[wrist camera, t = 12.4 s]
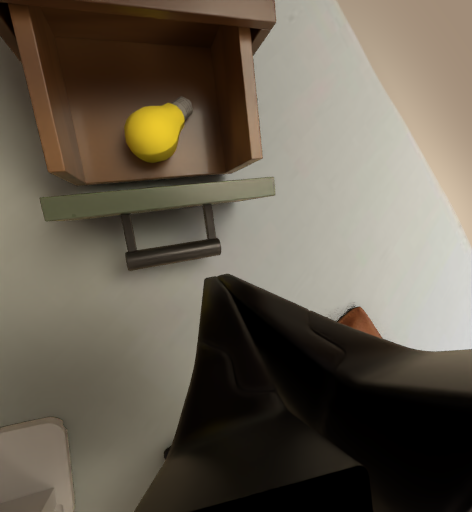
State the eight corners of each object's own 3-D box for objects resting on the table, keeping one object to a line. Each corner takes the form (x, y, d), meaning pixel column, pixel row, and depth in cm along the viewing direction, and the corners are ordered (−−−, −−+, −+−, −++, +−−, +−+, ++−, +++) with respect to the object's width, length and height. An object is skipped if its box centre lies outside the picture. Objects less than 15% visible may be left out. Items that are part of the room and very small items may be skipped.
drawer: (245, 246, 25) (281, 255, 18) (87, 273, 21) (64, 297, 14) (222, 46, 22) (256, -24, 15) (32, 31, 18) (-29, -72, 11)
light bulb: (117, 152, 19) (108, 114, 16) (169, 107, 21) (171, 66, 18) (155, 181, 19) (155, 149, 16) (203, 133, 22) (211, 97, 18)
